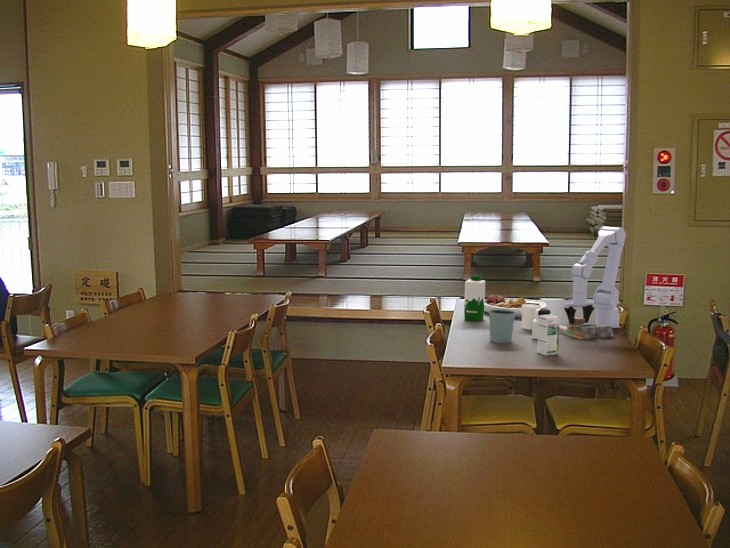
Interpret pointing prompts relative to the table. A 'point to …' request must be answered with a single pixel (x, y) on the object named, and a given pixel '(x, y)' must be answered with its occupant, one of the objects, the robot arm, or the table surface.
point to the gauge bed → (587, 331)
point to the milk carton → (474, 299)
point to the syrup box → (548, 334)
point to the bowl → (509, 304)
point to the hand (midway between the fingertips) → (578, 323)
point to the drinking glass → (501, 325)
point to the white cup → (528, 315)
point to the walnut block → (578, 321)
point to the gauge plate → (579, 327)
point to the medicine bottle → (535, 323)
